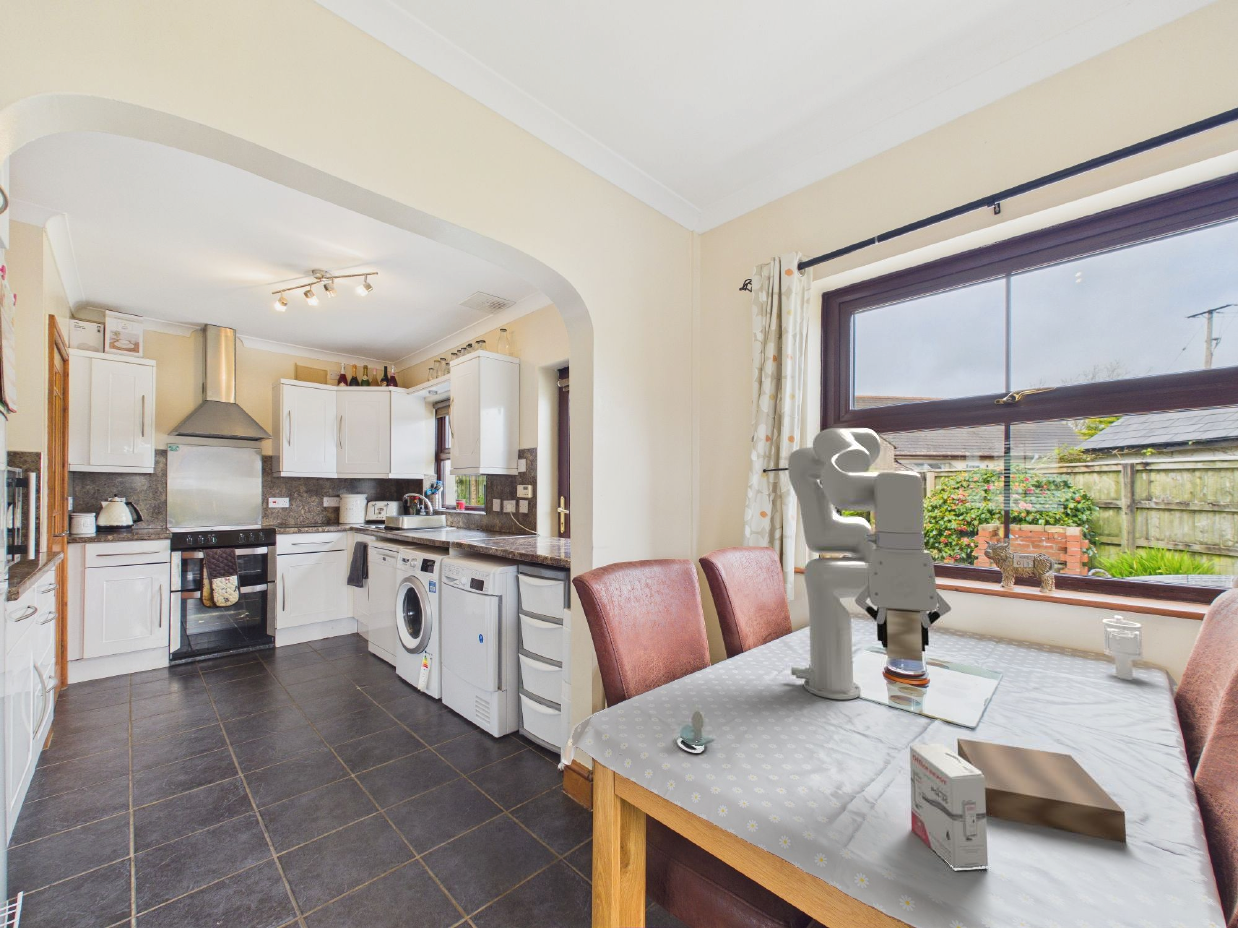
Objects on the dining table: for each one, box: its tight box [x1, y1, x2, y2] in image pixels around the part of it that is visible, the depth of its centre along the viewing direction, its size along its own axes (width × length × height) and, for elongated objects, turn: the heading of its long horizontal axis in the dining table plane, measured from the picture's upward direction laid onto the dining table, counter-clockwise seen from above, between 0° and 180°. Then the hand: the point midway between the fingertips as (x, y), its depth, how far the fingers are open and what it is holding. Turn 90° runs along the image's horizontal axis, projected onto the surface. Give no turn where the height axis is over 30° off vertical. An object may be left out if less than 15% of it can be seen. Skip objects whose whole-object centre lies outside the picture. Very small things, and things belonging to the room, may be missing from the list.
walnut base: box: [956, 737, 1127, 843], centre depth 80 cm, size 16×16×4 cm
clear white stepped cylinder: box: [1102, 615, 1144, 681], centre depth 130 cm, size 7×7×15 cm
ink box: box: [909, 743, 989, 868], centre depth 68 cm, size 9×5×12 cm, turn 5°
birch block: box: [884, 609, 923, 662], centre depth 88 cm, size 5×5×8 cm
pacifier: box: [680, 710, 715, 746], centre depth 96 cm, size 7×6×6 cm
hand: (902, 646), depth 88 cm, fingers closed on birch block, 5 cm apart
